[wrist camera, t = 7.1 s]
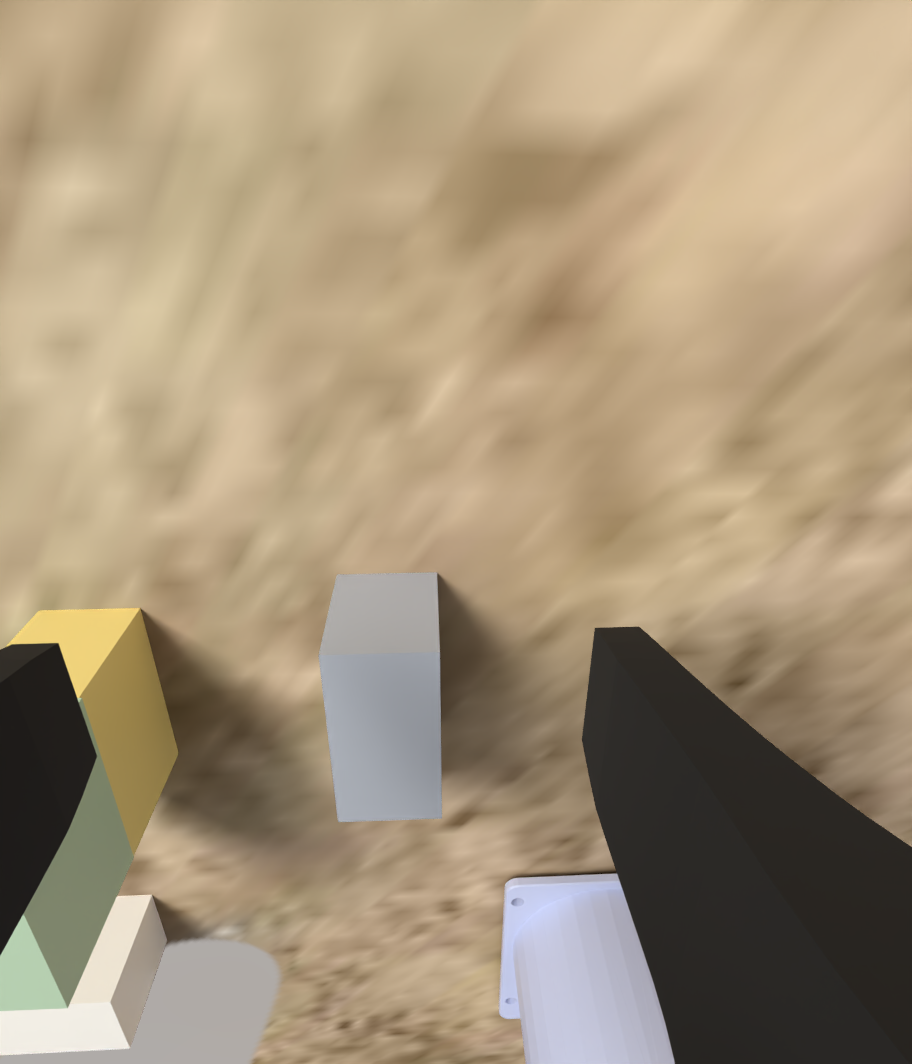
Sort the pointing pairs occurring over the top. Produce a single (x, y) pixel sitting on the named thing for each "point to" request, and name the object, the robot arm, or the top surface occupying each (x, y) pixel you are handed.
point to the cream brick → (98, 989)
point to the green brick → (68, 903)
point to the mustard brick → (116, 701)
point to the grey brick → (383, 696)
